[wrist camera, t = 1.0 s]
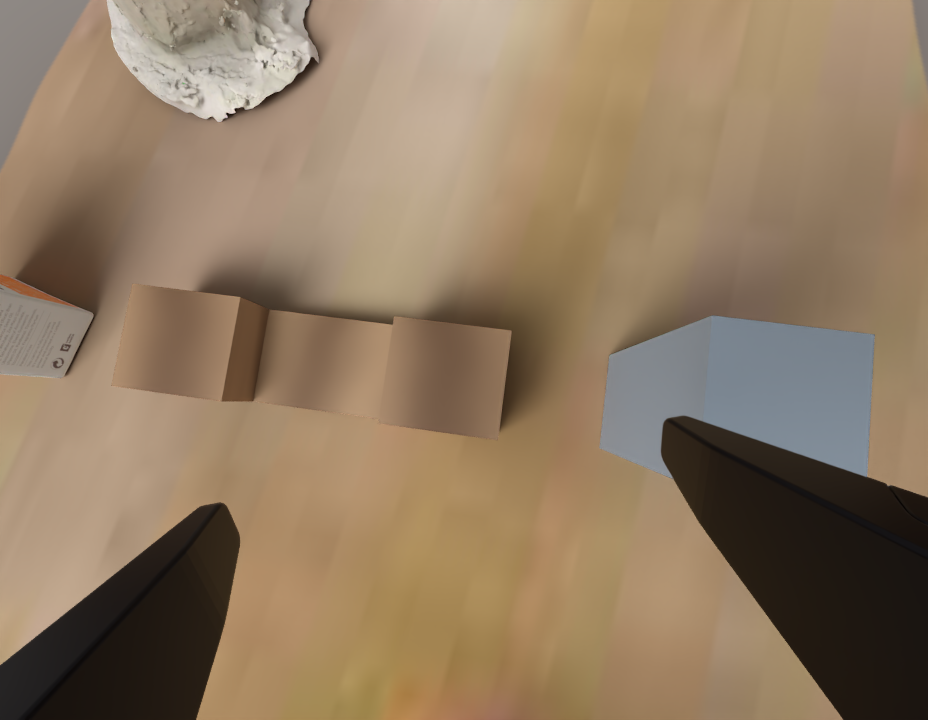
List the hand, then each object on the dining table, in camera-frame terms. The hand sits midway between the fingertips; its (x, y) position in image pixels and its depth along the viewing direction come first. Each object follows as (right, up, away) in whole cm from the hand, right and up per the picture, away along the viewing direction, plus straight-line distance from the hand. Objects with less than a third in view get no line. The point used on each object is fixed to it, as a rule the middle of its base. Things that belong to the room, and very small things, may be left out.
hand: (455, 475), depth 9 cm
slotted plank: (-7, +2, +16) cm, 17 cm away
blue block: (+10, 0, +14) cm, 18 cm away
